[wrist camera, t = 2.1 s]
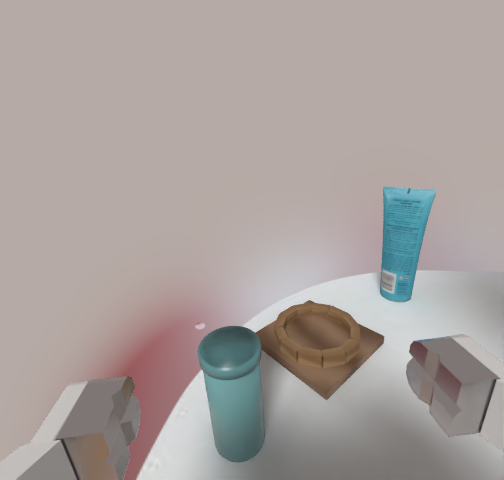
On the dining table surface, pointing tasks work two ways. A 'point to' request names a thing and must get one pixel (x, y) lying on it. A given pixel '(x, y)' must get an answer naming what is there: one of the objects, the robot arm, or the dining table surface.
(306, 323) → the collar base
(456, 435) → the robot arm
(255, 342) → the teal rimmed peg
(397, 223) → the tube
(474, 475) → the dining table surface
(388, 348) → the dining table surface
